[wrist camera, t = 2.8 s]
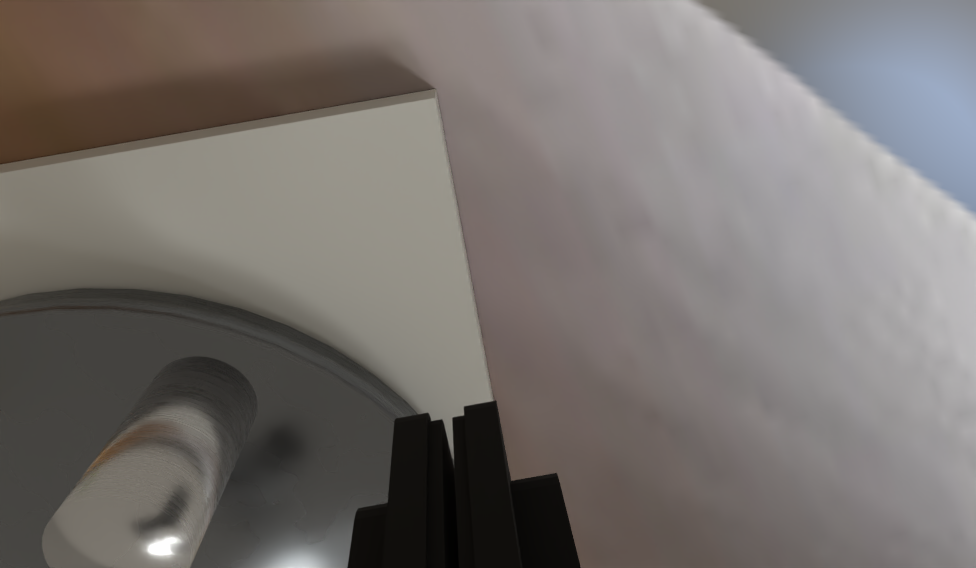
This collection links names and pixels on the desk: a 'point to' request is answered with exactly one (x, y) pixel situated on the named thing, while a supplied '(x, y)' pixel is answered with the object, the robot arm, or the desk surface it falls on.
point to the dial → (181, 436)
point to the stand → (274, 235)
